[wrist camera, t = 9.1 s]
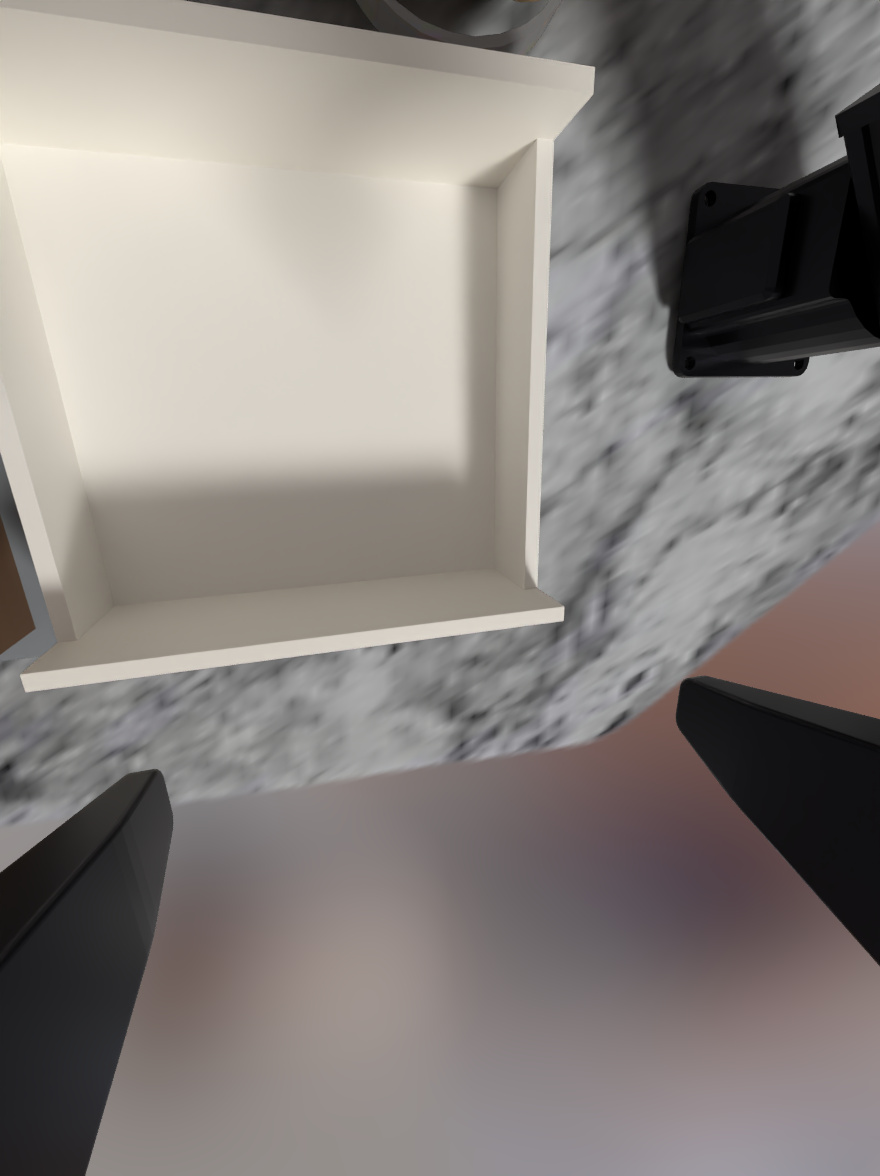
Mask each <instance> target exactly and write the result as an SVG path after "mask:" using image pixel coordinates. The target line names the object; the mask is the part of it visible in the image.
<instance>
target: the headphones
mask: <svg viewBox="0 0 880 1176" xmlns="http://www.w3.org/2000/svg"><path fill="white" fill-rule="evenodd" d="M514 1H518V2H533V1H540V0H514ZM561 1H562V0H550V1H549V2H548V3H547V5H546V6H545V7H544V9H543V10H542V11H541V12H540V13H538V14H537V15H536V16H535V17H534V18H532V19H531V20H530V21H529V22H527V23H526V24H525V25H522V26H520V27H517V28H514V29H512V30H509V31H506V32H504V33H501V34H494V35H484V36H470V35H465V34H459V33H454V32H449V31H446V30H444V29H442V28H439V27H437V26H435V25H432V24H430V23H428V22H425V21H423V20H420V19H419V18H418V17H417V16H415V15H414V14H413V13H411V12H410V11H409V10H407V9H406V8H405V7H403V6H402V5H401V4H399V3H398V2H397V1H396V0H356V2H357V3H358V5H359V6H360V8H361V9H362V10H363V12H364V13H365V15H366V16H367V18H368V19H369V20H370V22H371V23H372V25H373V26H374V27H375V28H376V29H377V30H378V31H379V32H382V33H388V34H394V35H400V36H407V37H413V38H419V39H425V40H431V41H437V42H444V43H450V44H456V45H462V46H468V47H474V48H481V49H487V50H493V51H499V52H505V53H512V54H518V55H525V54H526V53H528V52H529V51H530V50H531V49H532V48H533V46H534V45H535V44H536V42H537V41H538V40H539V38H540V37H541V36H542V34H543V33H544V32H545V30H546V28H547V26H548V24H549V22H550V20H551V18H552V16H553V14H554V12H555V11H556V9H557V8H558V6H559V5H560V3H561Z"/></svg>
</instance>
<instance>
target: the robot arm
mask: <svg viewBox="0 0 880 1176" xmlns="http://www.w3.org/2000/svg"><path fill="white" fill-rule="evenodd" d="M835 119H836V124H837V129H838V134H839V138H840V137H842V136H844V140H845V146H846V151H847V155H846V156H844V157H842V158H840V159H838V160H837V161H835V162H833V163H831V164H829V165H827V166H825V167H823V168H821V169H819V170H817V171H815V172H813V173H811V174H809V175H807V176H805V177H803V178H801V179H799V180H797V181H795V182H793V183H791V184H789V185H787V186H785V187H783V188H781V189H773V188H764V187H755V186H745V185H736V184H727V183H717V182H709V183H707V184H705V185H703V186H702V187H700V188H699V189H697V190H696V191H695V193H694V194H693V196H692V200H691V205H690V214H689V223H688V232H687V241H686V249H685V258H684V267H683V276H682V285H681V294H680V303H679V312H678V320H677V329H676V338H675V347H674V356H673V371H674V374H675V375H676V376H678V377H681V378H693V377H793V376H799V375H801V374H803V373H804V372H805V370H806V369H807V366H808V363H809V357H812V356H819V355H826V354H833V353H839V352H846V351H853V350H860V349H867V348H874V347H880V84H879V85H877V86H876V87H874V88H873V89H872V90H870V91H869V92H867V93H866V94H865V95H863V96H862V97H860V98H859V99H858V100H856V101H855V102H853V103H852V104H851V105H849V106H848V107H846V108H845V109H844V110H842V111H841V112H839V113H838V114H837V115H835ZM705 196H706V197H707V199H708V205H707V206H706V204H705V200H704V198H705ZM686 359H687V360H688V367H687V369H686V367H685V360H686ZM794 363H795V367H794ZM676 723H677V726H678V728H679V730H680V731H681V733H682V734H683V735H684V736H685V738H686V739H687V741H688V742H689V743H690V745H691V746H692V747H693V749H694V750H695V751H696V753H697V754H698V755H699V757H700V758H701V759H702V761H703V762H704V763H705V765H706V766H707V767H708V769H709V770H710V771H711V773H712V774H713V775H714V777H715V778H716V779H717V781H718V782H719V783H720V785H721V786H722V787H723V789H724V790H725V791H726V792H727V794H728V795H729V796H730V798H731V799H732V800H733V801H734V802H735V803H736V805H738V807H739V808H740V809H741V810H742V812H743V813H744V814H745V815H746V816H747V817H748V818H749V819H750V821H751V822H752V823H753V824H754V825H755V826H756V827H757V828H758V830H759V831H760V832H761V833H762V834H763V835H764V836H765V837H766V839H767V840H768V841H769V842H770V843H771V844H772V845H773V847H775V849H776V850H777V851H778V852H779V853H780V854H781V855H782V856H783V858H784V859H785V860H786V861H787V862H788V863H789V865H790V866H791V867H792V868H793V869H794V870H795V871H796V872H797V873H798V874H799V876H800V877H801V878H802V879H803V880H804V881H805V883H806V884H807V885H808V886H809V887H810V888H811V889H812V890H813V891H814V893H815V894H816V895H817V896H818V897H819V898H820V899H821V901H823V903H824V904H825V905H826V906H827V907H828V908H829V910H830V911H831V912H832V913H833V914H834V915H835V916H836V917H837V918H838V920H839V921H840V922H841V923H842V924H843V925H844V926H845V928H846V929H847V930H848V931H849V932H850V933H851V934H852V935H853V937H854V938H855V939H856V940H857V941H858V942H859V943H860V944H861V945H862V947H863V948H864V949H865V950H866V951H867V952H868V953H869V954H870V956H871V957H872V958H873V959H874V960H875V961H876V962H877V964H878V965H879V966H880V719H877V718H873V717H869V716H865V715H861V714H857V713H853V712H849V711H845V710H841V709H837V708H833V707H829V706H825V705H821V704H817V703H813V702H809V701H805V700H801V699H797V698H793V697H789V696H785V695H781V694H777V693H773V692H769V691H765V690H761V689H757V688H753V687H749V686H745V685H741V684H737V683H733V682H729V681H724V680H721V679H717V678H713V677H708V676H697V677H692V678H687V679H685V680H683V681H682V683H681V685H680V690H679V696H678V704H677V710H676ZM172 831H173V813H172V809H171V805H170V801H169V797H168V793H167V788H166V784H165V780H164V777H163V775H162V773H161V771H159V770H158V769H152V770H146V771H140V772H134V773H129V774H127V775H126V776H124V777H123V778H121V779H120V780H119V781H118V782H116V783H115V784H114V785H112V786H111V787H110V788H109V789H107V790H106V791H105V792H103V793H102V794H101V795H100V796H98V797H97V798H96V799H94V800H93V801H92V802H91V803H89V804H88V805H87V806H85V807H84V808H83V809H82V810H80V811H79V812H78V813H76V814H75V815H74V816H73V817H71V818H70V819H69V820H67V821H66V822H65V823H64V824H62V825H61V826H60V827H58V828H57V829H56V830H55V831H53V832H52V833H51V834H50V835H48V836H47V837H46V838H44V839H43V840H42V841H40V842H39V843H38V844H37V845H35V846H34V847H33V848H31V849H30V850H29V851H28V852H26V853H25V854H24V855H23V856H21V857H20V858H19V859H17V860H16V861H15V862H13V863H12V864H11V865H10V866H8V867H7V868H6V869H5V870H3V871H2V872H1V873H0V1176H85V1174H86V1171H87V1167H88V1164H89V1161H90V1157H91V1154H92V1150H93V1147H94V1143H95V1140H96V1136H97V1133H98V1129H99V1126H100V1122H101V1119H102V1116H103V1112H104V1109H105V1105H106V1101H107V1098H108V1095H109V1091H110V1088H111V1085H112V1081H113V1078H114V1074H115V1071H116V1067H117V1064H118V1060H119V1057H120V1053H121V1050H122V1046H123V1043H124V1039H125V1036H126V1033H127V1029H128V1026H129V1022H130V1019H131V1015H132V1012H133V1008H134V1004H135V1001H136V998H137V994H138V991H139V988H140V984H141V981H142V977H143V974H144V970H145V967H146V963H147V960H148V956H149V953H150V949H151V945H152V941H153V937H154V932H155V927H156V922H157V916H158V911H159V906H160V900H161V894H162V888H163V883H164V877H165V870H166V866H167V860H168V854H169V849H170V843H171V837H172Z"/></svg>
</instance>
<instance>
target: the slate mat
mask: <svg viewBox="0 0 880 1176" xmlns="http://www.w3.org/2000/svg"><path fill="white" fill-rule="evenodd" d="M0 515H1V518H2V522H3V525H4V528H5V531H6V535H7V538H8V541H9V544H10V547H11V551H12V554H13V557H14V560H15V563H16V567H17V570H18V573H19V576H20V580H21V583H22V586H23V589H24V592H25V596H26V599H27V602H28V605H29V608H30V612H31V615H32V618H33V621H34V625H35V628H36V629H35V630H33V631H32V632H31V633H29V634H28V635H27V636H25V637H24V638H22V639H21V640H20V641H18V642H17V643H16V644H14V645H13V646H12V647H10V648H9V649H7V650H6V651H5V652H3V653H2V654H1V655H0V661H6V660H15V659H23V658H32V657H40V656H42V655H43V654H45V653H46V652H47V651H48V650H49V649H50V648H52V647H53V646H54V645H55V644H56V643H57V640H56V636H55V633H54V630H53V626H52V623H51V620H50V616H49V613H48V610H47V606H46V603H45V600H44V596H43V593H42V590H41V586H40V583H39V580H38V576H37V573H36V570H35V566H34V563H33V560H32V556H31V553H30V550H29V546H28V543H27V540H26V536H25V533H24V530H23V526H22V523H21V520H20V516H19V513H18V510H17V506H16V503H15V500H14V496H13V493H12V490H11V486H10V483H9V480H8V476H7V473H6V470H5V466H4V463H3V460H2V456H1V453H0Z"/></svg>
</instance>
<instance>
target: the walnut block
mask: <svg viewBox="0 0 880 1176" xmlns="http://www.w3.org/2000/svg"><path fill="white" fill-rule="evenodd" d="M35 629H36V628H35V625H34V621H33V618H32V615H31V612H30V608H29V605H28V602H27V599H26V596H25V592H24V589H23V586H22V583H21V580H20V576H19V573H18V570H17V567H16V563H15V560H14V557H13V554H12V551H11V547H10V544H9V541H8V538H7V535H6V531H5V528H4V525H3V522H2V518H1V515H0V655H1V654H2V653H3V652H5V651H6V650H7V649H9V648H10V647H12V646H13V645H14V644H16V643H17V642H18V641H20V640H21V639H22V638H24V637H25V636H27V635H28V634H29V633H31V632H32V631H33V630H35Z"/></svg>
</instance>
